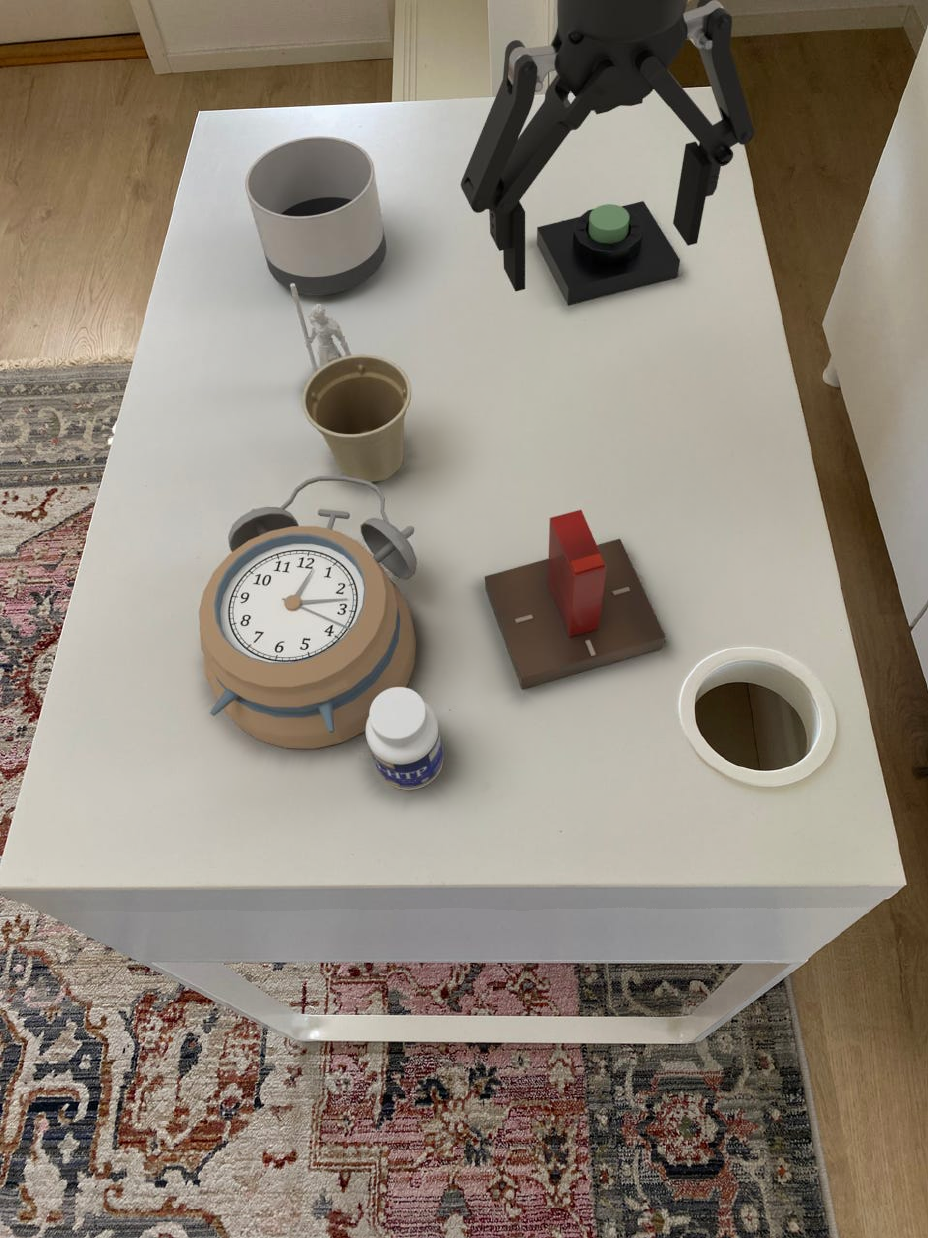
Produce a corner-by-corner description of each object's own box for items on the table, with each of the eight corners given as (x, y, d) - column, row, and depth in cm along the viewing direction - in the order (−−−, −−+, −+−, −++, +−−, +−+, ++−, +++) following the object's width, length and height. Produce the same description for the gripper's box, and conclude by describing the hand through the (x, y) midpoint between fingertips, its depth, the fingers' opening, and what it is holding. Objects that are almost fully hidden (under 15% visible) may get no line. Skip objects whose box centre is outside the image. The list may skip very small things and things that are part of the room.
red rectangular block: (547, 582, 78) (549, 515, 70) (576, 574, 78) (581, 506, 70) (569, 637, 75) (573, 575, 67) (599, 629, 75) (607, 565, 67)
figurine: (301, 397, 92) (272, 300, 82) (328, 361, 94) (303, 262, 84) (347, 413, 91) (324, 316, 80) (373, 376, 93) (353, 277, 83)
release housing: (641, 218, 102) (645, 185, 99) (677, 277, 97) (682, 244, 94) (536, 244, 101) (537, 212, 98) (567, 305, 96) (569, 273, 93)
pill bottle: (370, 787, 72) (351, 743, 64) (383, 724, 74) (366, 674, 67) (439, 795, 71) (428, 751, 63) (449, 731, 74) (440, 681, 66)
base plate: (618, 551, 81) (620, 536, 79) (662, 648, 76) (666, 635, 74) (485, 588, 80) (484, 575, 78) (521, 689, 75) (521, 677, 73)
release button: (619, 214, 97) (620, 199, 96) (633, 238, 95) (635, 224, 94) (583, 223, 97) (583, 209, 96) (596, 248, 95) (597, 233, 94)
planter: (247, 264, 103) (219, 177, 93) (339, 208, 106) (322, 120, 97) (317, 322, 97) (295, 236, 88) (412, 262, 101) (400, 174, 92)
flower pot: (410, 504, 85) (399, 440, 77) (310, 494, 86) (289, 431, 79) (429, 424, 90) (420, 357, 82) (333, 417, 91) (315, 350, 83)
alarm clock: (142, 684, 67) (237, 436, 78) (184, 735, 75) (264, 503, 86) (375, 717, 64) (438, 456, 76) (392, 766, 72) (447, 523, 84)
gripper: (430, 21, 49) (456, 332, 67) (867, -81, 51) (776, 245, 70) (392, -48, 52) (426, 265, 71) (801, -140, 55) (732, 185, 73)
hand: (600, 256), depth 70 cm, fingers open, 13 cm apart
